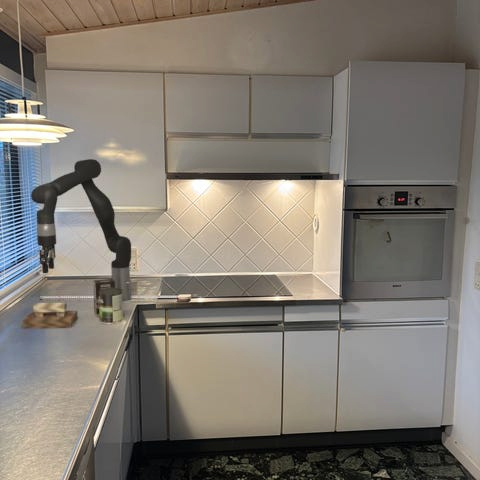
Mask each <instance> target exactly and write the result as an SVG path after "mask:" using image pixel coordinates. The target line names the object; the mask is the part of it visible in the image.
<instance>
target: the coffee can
mask: <svg viewBox="0 0 480 480" xmlns="http://www.w3.org/2000/svg"><path fill="white" fill-rule="evenodd" d="M99 309H100V316H99V323H101V324H103V325H117V324H120V323H122V322H123V320H124V319H123V316H124V315H123V301H122V289H119V288H105V289H101V290H99Z"/></svg>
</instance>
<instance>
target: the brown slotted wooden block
mask: <svg viewBox="0 0 480 480" xmlns="http://www.w3.org/2000/svg"><path fill="white" fill-rule="evenodd" d="M78 317H79V315H78V310H66V316H59V317H57V312H45V316H44V317H36V315H35V312H34V310H32V311H30V312H29V314H27V315H26V316H25V317H24V318H23V319H22V329H23V330H27V329H26V328H29V330H30V328H31V330H32V328H34V329H35V330H36V329H37V328H39V329H67V328H66V327H71V328H73V326H74V325H75V323H76V322H77V320H78V319H79V318H78ZM73 324H74V325H73Z"/></svg>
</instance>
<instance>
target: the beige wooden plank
mask: <svg viewBox="0 0 480 480" xmlns="http://www.w3.org/2000/svg"><path fill="white" fill-rule="evenodd" d="M67 303H68V302H36V303H35V304H34V305H32V306H33V311H34V312H35V315H36V317H44V316H45V312H57V317H59V316H66V311H68V305H67Z"/></svg>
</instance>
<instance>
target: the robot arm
mask: <svg viewBox="0 0 480 480" xmlns="http://www.w3.org/2000/svg"><path fill="white" fill-rule="evenodd" d="M101 166H102V165H101V163H100V162H99V161H98V160H97V159H94V158H93V159H91V158H90V159H83V160H78V161H76V162H75V163H74V171H71V172H69V173H65V174H63V175H61V176H59V177H57V178H56V179H54V180H52V181H50V182H47V183H46V182H45V183H44V184H39V185H38V186H36V187H34V188H33V189H32V191H31V193H30V194H31V195H30V196H31V197H30V199H31V200H32V201H33V202H34V203H35V204H40V205H43V208H42V209H39V210H37V211H36V239H37V245H38V246H40V247H42V248H41V249H39V251H38V252H39V264H40V265H41V266H42V267H41V269H42V274H48V273H49V270H53V269H54V268H55V258H56V246H55V245H56V244H57V229H56V222H55V212H56V208H57V203H58V197H61V196H63V195H64V194H66V193H68V192H69V191H70V190H72V189H73V188H75V187H77V186H79V185H81V187H82V189H83V190H84V192H85V194H86V196H87V199H88V200H89V203H90V205H91V208H92V210H93V212H94V215H95V216H96V218H97V221H98V224H99V227H100V228H101V230H102V233H103V235H104V239H105V242H106V246H107V248H108V250H109V251H110V252H112V253H114V254H115V259H114V260H112V261H111V279H113V280H114V281H115V288H119V289H122V302H123V301H130V300H131V299H132V298H131V297H132V283H131V282H132V280H131V273H130V272H131V270H130V269H131V267H130V266H131V261H132V242H131V239H130V238H128V237H126V236H122V235H120V234H119V232H118V230H117V228H116V225H115V217H116V214H115V209H114V207H113V204H112V202H111V200H110V198H109V197H108V196H107V195H106V194H105V193H104V192H103V191H102V190H101V189H99V187H98V186H97V185H96V183H95V182H94V179H96V178H98V177H99V176H100V174H101V172H102V167H101Z"/></svg>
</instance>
